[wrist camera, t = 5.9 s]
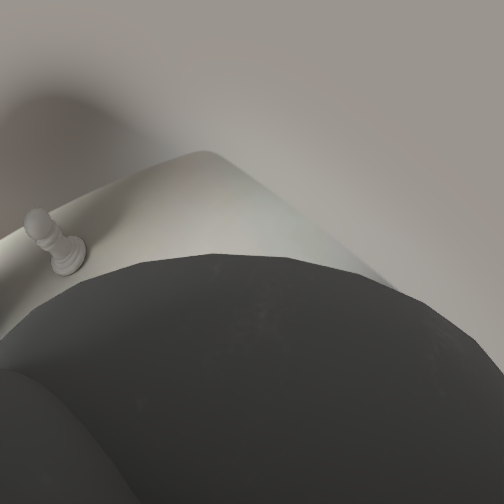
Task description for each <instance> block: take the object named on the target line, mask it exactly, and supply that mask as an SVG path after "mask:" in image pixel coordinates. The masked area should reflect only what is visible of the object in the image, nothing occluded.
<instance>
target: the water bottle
mask: <svg viewBox="0 0 504 504" xmlns="http://www.w3.org/2000/svg"><path fill="white" fill-rule="evenodd" d="M0 504H504V375H503V373H502V372H501V371H500V370H499V368H498V367H497V366H496V365H495V363H494V362H493V361H492V360H491V358H490V357H489V356H488V355H487V354H486V353H485V351H484V350H483V349H482V348H481V347H480V346H479V344H478V343H477V342H476V341H475V340H474V339H472V338H471V337H470V336H468V335H467V334H466V333H464V332H463V331H462V330H460V329H459V328H458V327H456V326H455V325H454V324H452V323H451V322H450V321H448V320H447V319H445V318H444V317H443V316H441V315H440V314H439V313H437V312H436V311H434V310H433V309H432V308H430V307H429V306H427V305H426V304H424V303H423V302H421V301H418V300H416V299H414V298H412V297H409V296H407V295H405V294H403V293H400V292H398V291H396V290H394V289H391V288H389V287H387V286H385V285H382V284H380V283H378V282H375V281H373V280H371V279H369V278H366V277H364V276H362V275H359V274H356V273H351V272H347V271H343V270H338V269H334V268H330V267H326V266H321V265H317V264H312V263H308V262H304V261H299V260H295V259H291V258H286V257H266V256H247V255H228V254H206V255H198V256H190V257H182V258H174V259H166V260H158V261H150V262H142V263H138V264H135V265H132V266H129V267H126V268H122V269H119V270H116V271H113V272H110V273H107V274H104V275H101V276H98V277H95V278H92V279H89V280H86V281H83V282H80V283H78V284H76V285H75V286H73V287H71V288H69V289H68V290H66V291H64V292H62V293H61V294H59V295H57V296H55V297H54V298H52V299H50V300H49V301H47V302H45V303H44V304H42V305H40V306H38V307H37V308H35V309H34V310H33V311H31V312H30V313H29V314H28V315H27V316H26V317H25V318H24V319H23V320H22V321H21V322H20V323H18V324H17V325H16V326H15V327H14V328H13V329H12V330H11V331H10V332H9V333H8V334H7V335H6V336H5V337H4V338H3V339H2V340H1V341H0Z"/></svg>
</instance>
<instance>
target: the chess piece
mask: <svg viewBox="0 0 504 504" xmlns="http://www.w3.org/2000/svg"><path fill="white" fill-rule="evenodd" d="M24 228H25V231H26V233H27V234H28V235H29V236H30V237H31V238H33V239H35V242H36V244H37V245H38V246H40V247H41V249H42V250H45V251H49V252H50V253H51V254H52V258H51V265H52V268H53V270H54V271H55V272H56V273H57V274H59V275H62V276H67V275H70V274H72V273H74V272H75V271H76V270H77V269H78V268H79V267H80V266H81V264H82V263H83V261H84V258H85V255H86V247H85V244H84V242H83V240H82V239H81V238H79V237H77V236H69V237H67V238H66V237H65V236H64V235H63V234H62V230H61V228H60V226H58V225H57V223H56V222H55V221H53V220H51V217H50V215H49V214H48V213H47V212H46V211H45V210H43V209H41V208H36V209H33V210H31V211H30V212H29V213H28V214H27V215H26V217H25V220H24Z"/></svg>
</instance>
